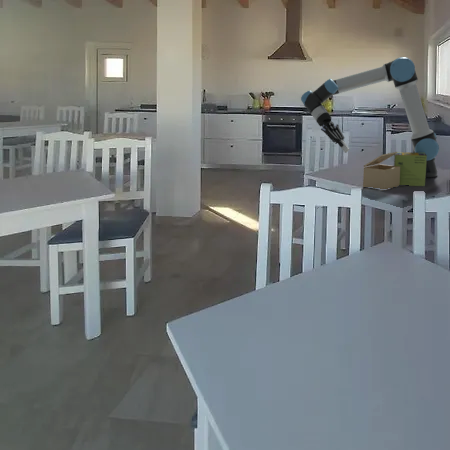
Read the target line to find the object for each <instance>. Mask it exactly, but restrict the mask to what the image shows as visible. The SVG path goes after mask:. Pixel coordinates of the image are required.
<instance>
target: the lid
mask: <svg viewBox="0 0 450 450" xmlns="http://www.w3.org/2000/svg"><path fill="white" fill-rule="evenodd" d="M398 152H399V151H395V152H388V153H384V154H381V155H379V156H378V157H376V158H374V159H372V160H370V161H369V162H368V163H365V164H364V165H363V168H364V167H369V166H373V165H378V164H381V163H383V162H384V161H386V160H388V159H389V158H391V157H394V155H395V154H396V153H398Z"/></svg>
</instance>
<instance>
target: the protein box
mask: <svg viewBox="0 0 450 450" xmlns="http://www.w3.org/2000/svg"><path fill="white" fill-rule="evenodd" d="M397 152H398V153H396V154H395V155H393V166H400V183H399V185H409V186H408V187H425V186H426V178H427V177H426V161H427V155H426V154H425V153H413V151H412V152H407V151H406V152H403V151H402V152H400V151H397Z"/></svg>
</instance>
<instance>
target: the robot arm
mask: <svg viewBox="0 0 450 450" xmlns="http://www.w3.org/2000/svg"><path fill="white" fill-rule="evenodd" d="M418 81H419V78H418V76H417V72H416V66H415V63H414V62H413V60H412V59H410V58H409V57H406V56H400V57H397V58H395V59H394V60H391V61H389V62H387V63H386V62H385V63H383V65H382V66H379V67H376V68H372V69H368V70H366V71H363V72H358V73H355V74H352V75H349V76H344V77H341V78H338V79H334V80H333V79H332V78H329V79H327V80H325V81H324V82H323V83H322V84H321V85H320V86H319V87H318V88H316V89H315V90H314V91H312V90H307V91H306V92H304V93H303V94H302V95H301V97H300V101H301V103H303V106H304V107H305V109H306V110H307V111H308V112H309V113H310V115H311V116H312V118H313V119H314V120H315V121H316V123H317V124H318V126H319V127H321V129H320V130H321V131H322V133H325V135H326V136H327V137H328V138H329V139H330V140H331V141H332V142H333V143H335V145H336V144H338V146H339V147H340V149H341V150H342V151H343V152H344V153H345V154H347V153H348V152H349V151H350V148H349V146H348V145H347V143H346V142H345V141H344V139H345V136H344V135H343V132H342V131H341V128H340V125H339V124H337V123H336V124H335V123H334V122H333V121H332V116H331V115H330V113H329V112H328V111H327V110H326V108H325V106H324V105H323V103H324V102H325V101H327V100H328V99H329V98H330V97H332V96H335V95H339V94H342V93H345V92H349V91H352V90H356V89H359V88H365V87H368V86H371V85H374V84H377V83H382V82H388V83H389V82H393V84H394V87H395V89H397V90H399V93H400V98H401V100H402V103H403V106H404V110H405V113H406V117H407V120H408V122H409V126H410V129H411V133H412V135H411V137H410V140H411V143H412V153H425V154H426V155H427V161H426V177H425V178H435V177H437V176H438V169H437V166H436V161H435V159H436V157H437V156H438V153H439V151H440V146H439V143H438V142H437V134H436V133H435V132H434V130H432V129H430V126H429V123H428V119H427V116H426V113H425V110H424V106H423V103H422V100H421V96H420V93H419V90H418V87H417V82H418Z"/></svg>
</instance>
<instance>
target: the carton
mask: <svg viewBox="0 0 450 450" xmlns="http://www.w3.org/2000/svg"><path fill="white" fill-rule="evenodd" d="M362 177H363V178H362V181H363V182H362V183H363V184H362V188H363V187H373V188H380V189H388V188H392V189H394V188H393V187H396V188H398V187H397V186H399V183H400V166H394V165H389V164H381V163H379V164H375V165H371V166H366V167H364V166H363V176H362ZM399 187H400V186H399ZM388 190H389V189H388Z"/></svg>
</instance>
